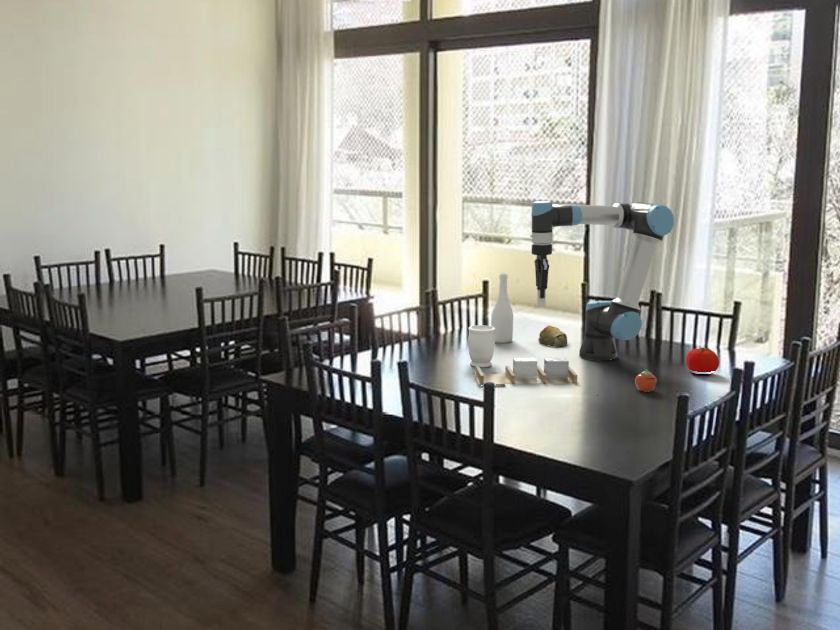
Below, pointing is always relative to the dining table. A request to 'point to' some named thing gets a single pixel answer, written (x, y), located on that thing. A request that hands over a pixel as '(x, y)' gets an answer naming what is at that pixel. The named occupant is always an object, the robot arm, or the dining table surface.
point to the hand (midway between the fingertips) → (541, 306)
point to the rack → (510, 379)
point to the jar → (481, 345)
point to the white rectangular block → (525, 368)
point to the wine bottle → (502, 314)
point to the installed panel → (556, 368)
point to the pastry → (552, 337)
